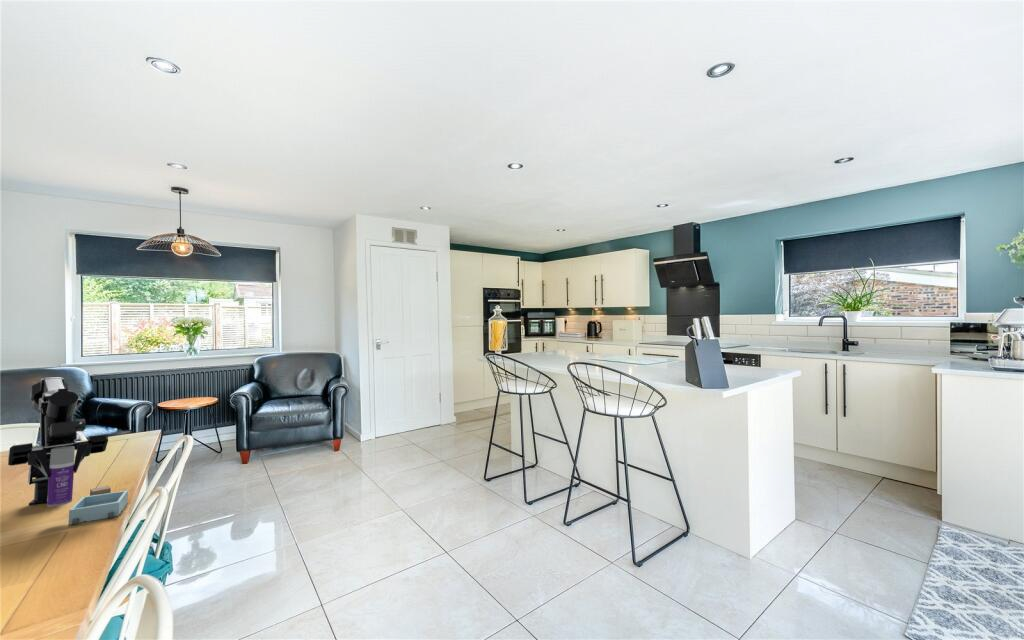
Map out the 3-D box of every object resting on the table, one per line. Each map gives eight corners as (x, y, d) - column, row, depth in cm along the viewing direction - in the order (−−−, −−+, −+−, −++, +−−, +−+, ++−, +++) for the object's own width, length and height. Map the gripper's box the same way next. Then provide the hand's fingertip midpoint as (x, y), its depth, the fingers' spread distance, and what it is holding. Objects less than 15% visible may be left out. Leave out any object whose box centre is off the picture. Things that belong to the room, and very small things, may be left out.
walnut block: (89, 502, 129) (90, 488, 129) (107, 498, 132) (107, 485, 132) (91, 504, 126) (92, 491, 126) (109, 500, 129) (110, 487, 130)
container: (55, 507, 111) (59, 450, 112) (41, 506, 112) (45, 449, 112) (76, 500, 115) (80, 446, 116) (63, 499, 116) (66, 445, 117)
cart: (83, 508, 123) (83, 495, 123) (128, 501, 129) (128, 489, 129) (66, 526, 111) (67, 512, 111) (117, 517, 116) (118, 503, 117)
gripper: (11, 415, 110) (11, 464, 103) (108, 406, 125) (114, 449, 117) (8, 440, 114) (7, 490, 107) (102, 429, 129) (107, 472, 122)
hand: (62, 474), depth 113 cm, fingers closed on container, 5 cm apart
